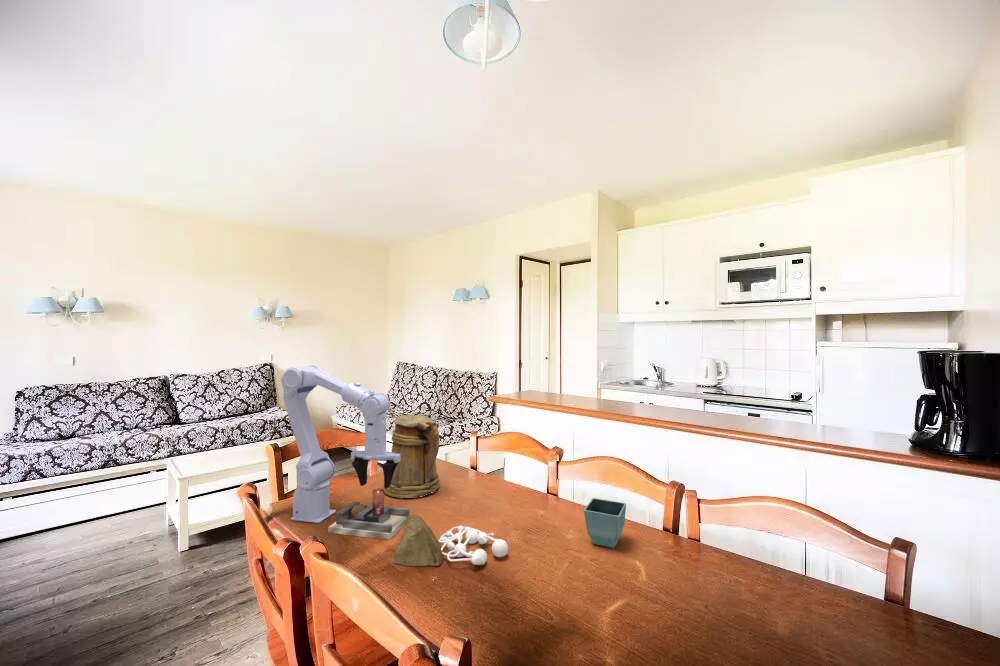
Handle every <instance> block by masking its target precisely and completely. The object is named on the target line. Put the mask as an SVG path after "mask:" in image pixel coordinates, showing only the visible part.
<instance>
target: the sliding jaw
mask: <svg viewBox="0 0 1000 666" xmlns="http://www.w3.org/2000/svg"><path fill="white" fill-rule="evenodd" d="M371 492H372V501H371V502H372V503H371V504H368V505H369V506H368V507H366V508H365V509H364V510H362V511H361V512H359V513H358V514H357V521H366V522H375V523H383V522H385V521H386V520H387V519H388V518H389V517H390V508H384V506H385V499H384V498H385V492H384V488H383V487H382V488H374V489H372V491H371Z"/></svg>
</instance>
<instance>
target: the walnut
mask: <svg viewBox="0 0 1000 666" xmlns="http://www.w3.org/2000/svg"><path fill="white" fill-rule="evenodd" d="M364 505H365V504H361V503H360V504H358V505H356V506H354V507H353V509H352V511H351V515H352V517H353V518H354V519H355V520H357V514H358V513H359V512H361V511H362V510H364V509H365V506H364Z"/></svg>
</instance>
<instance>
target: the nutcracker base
mask: <svg viewBox="0 0 1000 666" xmlns="http://www.w3.org/2000/svg"><path fill="white" fill-rule="evenodd" d="M358 504H361V503H360V501H352V502H350V503H349V504H348V505H346V506H344V507H343V508H342V509H340V510H339V511H336V512H335V513H336V515H335V517H336V518H335V522H333V523H332V524H330V525H329V526H327V532H328V534H338V535H345V536H346V535H347V536H353V537H362V538H371V539H377V540H385V539H386V541H390V540H391V539H392V538H393V537H394V536H396V534H397V533H399V532H400V530H401V529H403V527H405V526H406V525H407V524H406V523H407V522H408V521H409V520H410V518H411V513H410V508H404V507H397V506H396V507H395V506H385V505H384V508H390V517H389V518H388V519H387V520H386V521H385V522H383V523H375V522H366V521H357V520H355V519H354V518H353V517H352V515H351V511H352V509H353V507H354V506H356V505H358ZM363 505H364V506H365V508H366V507H368V506H369V505H370V504H363Z"/></svg>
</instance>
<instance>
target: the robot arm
mask: <svg viewBox="0 0 1000 666" xmlns="http://www.w3.org/2000/svg"><path fill="white" fill-rule="evenodd" d="M280 382H281V385H282V386H281V387H282V388H283V402H284V406H285V409H286V413H287V415H288V419H289V423H290V425H291V429H292V432H293V435H294V438H295V442H296V446H297V449H298V453H299V454H300V455H299V456H300V457H299V460H298V461H297V463H296V464H295V469H296V482H297V484H298V486H297V488H296V489H295V490H294V493H293V496H292V517H291V518H290V519H291V521H299V522H307V523H315V524H319V523H321V522H323V521H325V520H326V519H327V518H329V517H330V516H332V515H333V514H335V513H337V510H336V509H331V508H330V507H331V505H330V504H331V503H330V502H331V501H330V496H331V495H330V490H331V489H330V488H331V487H330V486H331V485H330V484H331V482H332V477H334V475H335V472H336V465H335V464H334V462H333V461H332V459H331V458H330V457H329V454H328V453H327V452H325V451H324V450H323V449H321V447H320V443H319V439H318V437H317V433H316V430H315V428H314V427H315V426H314V424H313V420H312V417H311V414H310V411H309V407H308V405H307V401H306V400H307V398H308V395H309V394H310V393H311V392H313V390H314V389H315V388H316V387H317V386H319V387H322V388H323V389H327V390H328V391H331V392H333V393H336V394H338V395H341V400H342V401H343V402H345V403H347V404H349V405H351V406H353V407H355V408H356V409H359V410H360V411H361V413H362V415H363V417H364V419H363V421H364V450H353V451H352V452H350V460H353V461H352V462H351V466H352V467H353V468H354V471H355V472H356V474H357V478H358V481H359V485H360V487H363V486H366V484H367V482H368V469H369V468H368V466H369V462H370V461H380V462H384V463H382V464H381V467H382V471H383V477H384V478H383V479H384V480H383V488H384V487H385V488H388V487H390V486H391V481H392V477H393V474H394V471H395V469H396V467H397V465H398V463H399V461H400V454H396V453H392V451H391V452H390V451H387V412H388V410H389V409H390V408H391V407H390V406H391V401H390V399H389V398H388V396H387V395H386V394H384V393H383V392H379V393H375V391H374V390H372V389H371V390H369V389H368V388H365V387H363V386H361V383H359V382H351V383H348V384H347V383H346V382H344V381H342V380H341V379H339V378H337V377H335V376H333V375H332V374H330V373H328V372H327V371H325V370H324V368H320V367H318V366H316V365H309V366H300V367H298V366H297V367H295V366H293V367H289V368H287V369H286V370H285V371H284V373H283V375H282V376H281V378H280Z"/></svg>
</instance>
